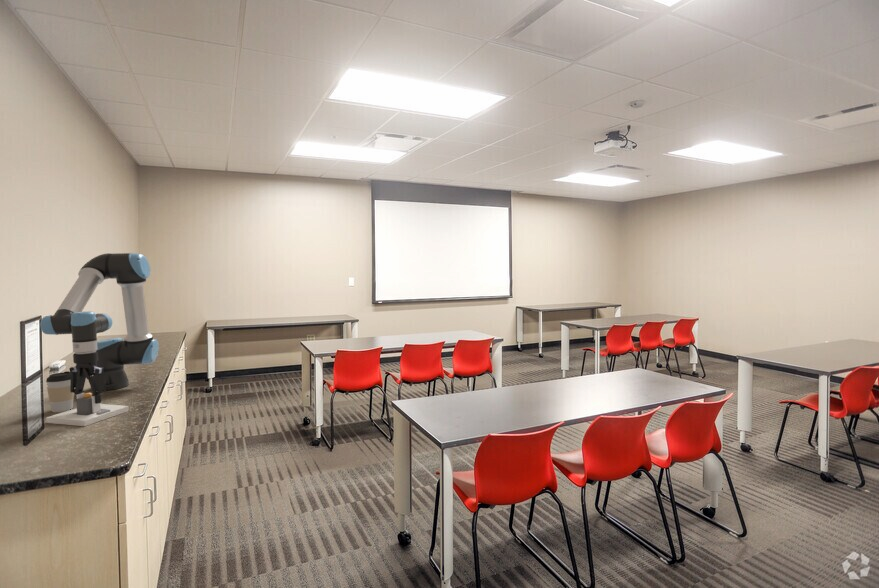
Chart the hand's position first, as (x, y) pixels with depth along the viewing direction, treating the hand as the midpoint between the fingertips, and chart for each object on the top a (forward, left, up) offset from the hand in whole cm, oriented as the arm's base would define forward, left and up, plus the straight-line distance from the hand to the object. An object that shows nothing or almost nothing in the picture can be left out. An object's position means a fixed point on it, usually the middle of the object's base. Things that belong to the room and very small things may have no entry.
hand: (89, 410), depth 178 cm
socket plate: (0, 0, -2) cm, 2 cm away
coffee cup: (-5, -20, -2) cm, 20 cm away
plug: (0, 0, -2) cm, 2 cm away
